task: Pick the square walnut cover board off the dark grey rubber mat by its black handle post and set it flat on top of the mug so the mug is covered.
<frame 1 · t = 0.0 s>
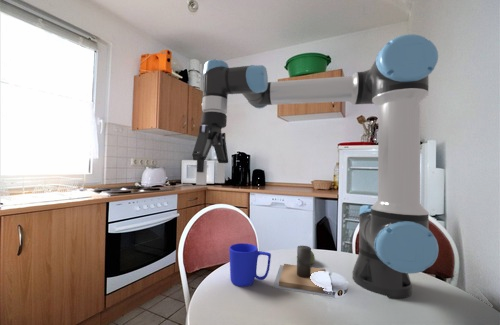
hand: (211, 183, 68), 28 cm above the table, tool pointing down, fingers open, 13 cm apart
lid: (303, 278, 68), resting on mat
mug: (248, 284, 65), on the table
pear: (304, 262, 83), on the table
mat: (303, 280, 68), on the table
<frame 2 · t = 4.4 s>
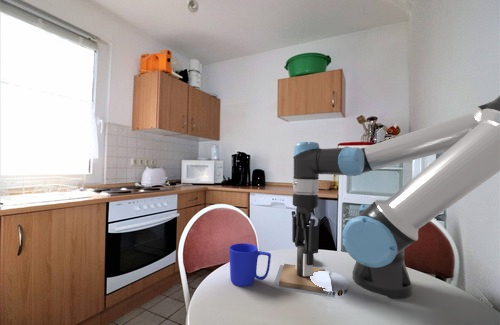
hand: (303, 271, 68), 3 cm above the table, tool pointing down, fingers closed on lid, 4 cm apart
lid: (303, 278, 68), point 1 cm above the table, touching gripper
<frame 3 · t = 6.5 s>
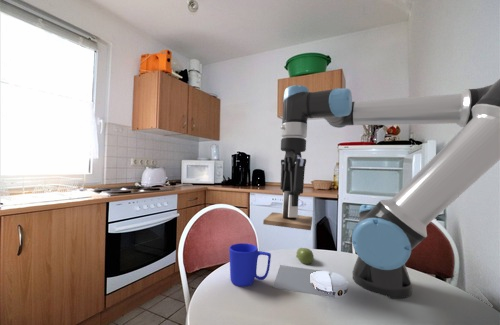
hand: (289, 215, 69), 19 cm above the table, tool pointing down, fingers closed on lid, 4 cm apart
lid: (289, 222, 69), point 17 cm above the table, touching gripper
when the fingers open (14 cm above the table, at t = 8.7 s): lid drops 2 cm, resting on mug.
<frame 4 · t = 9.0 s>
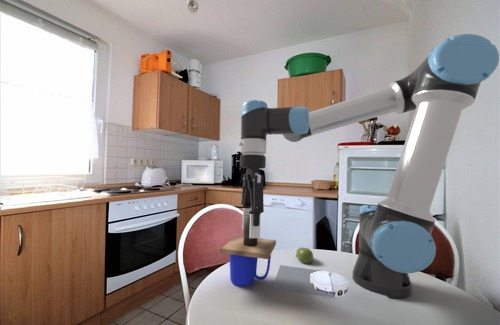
hand: (250, 233, 66), 14 cm above the table, tool pointing down, fingers open, 8 cm apart
lid: (250, 248, 66), point 10 cm above the table, touching mug
mug: (248, 284, 65), on the table, touching lid
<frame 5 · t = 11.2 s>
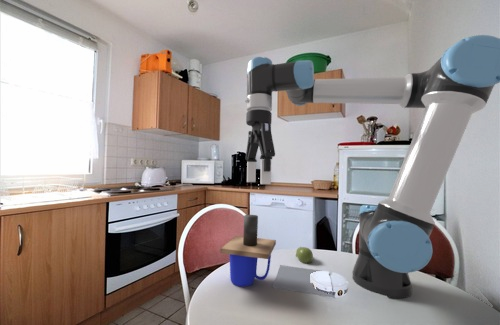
hand: (257, 183, 67), 29 cm above the table, tool pointing down, fingers open, 13 cm apart
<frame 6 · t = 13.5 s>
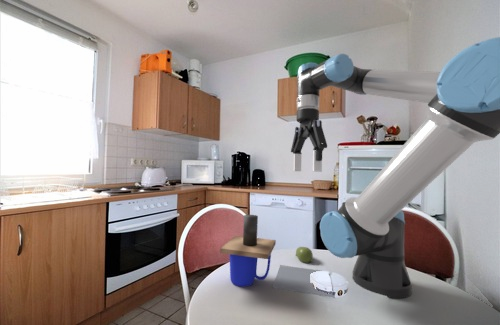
hand: (306, 171, 78), 33 cm above the table, tool pointing down, fingers open, 13 cm apart
at the end: lid 0.1 cm from the mug (horizontally); lid point 10.0 cm above the table; lid tilted 0° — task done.
